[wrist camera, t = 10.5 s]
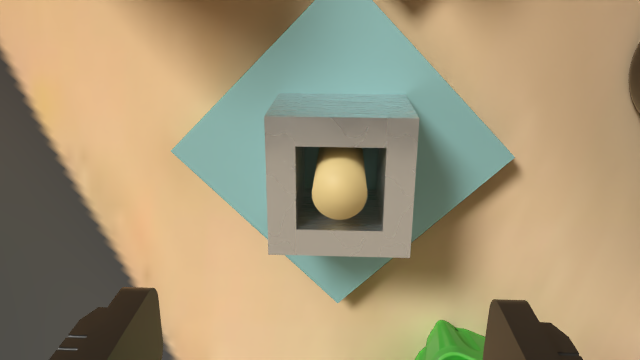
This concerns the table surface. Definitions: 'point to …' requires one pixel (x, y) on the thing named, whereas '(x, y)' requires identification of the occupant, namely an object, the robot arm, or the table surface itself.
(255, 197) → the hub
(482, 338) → the fruit basket
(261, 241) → the table surface
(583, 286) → the table surface
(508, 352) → the robot arm
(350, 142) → the collar
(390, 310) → the table surface
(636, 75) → the supplement bottle
